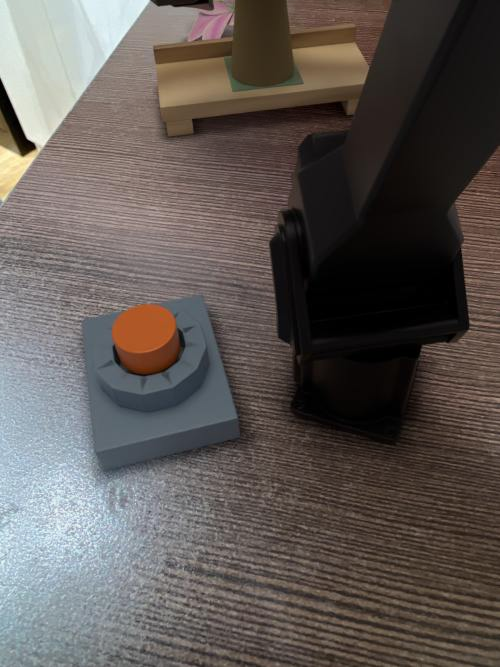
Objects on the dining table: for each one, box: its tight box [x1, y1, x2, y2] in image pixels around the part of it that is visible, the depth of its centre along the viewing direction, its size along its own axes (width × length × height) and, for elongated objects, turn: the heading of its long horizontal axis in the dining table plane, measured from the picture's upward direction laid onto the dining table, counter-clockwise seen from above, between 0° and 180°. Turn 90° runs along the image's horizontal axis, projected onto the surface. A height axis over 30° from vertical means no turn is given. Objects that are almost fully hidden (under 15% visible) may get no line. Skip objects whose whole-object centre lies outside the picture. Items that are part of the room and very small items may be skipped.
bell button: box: [112, 303, 181, 375], centre depth 34 cm, size 4×4×2 cm
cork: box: [231, 0, 295, 87], centre depth 53 cm, size 6×6×11 cm
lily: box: [187, 0, 235, 42], centre depth 65 cm, size 12×12×10 cm
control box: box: [81, 293, 241, 472], centre depth 36 cm, size 10×8×4 cm
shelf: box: [152, 23, 370, 138], centre depth 58 cm, size 9×20×4 cm, turn 99°
